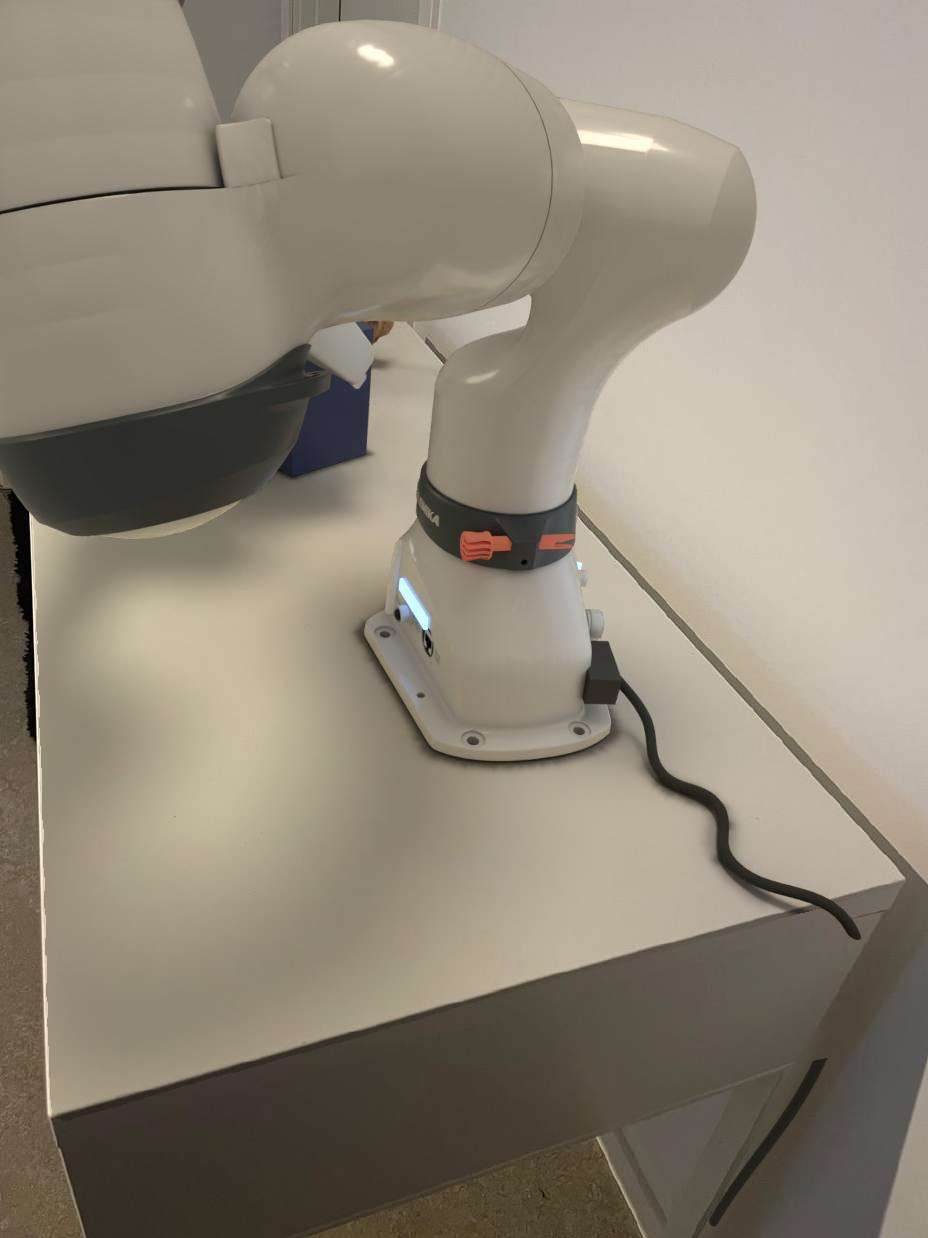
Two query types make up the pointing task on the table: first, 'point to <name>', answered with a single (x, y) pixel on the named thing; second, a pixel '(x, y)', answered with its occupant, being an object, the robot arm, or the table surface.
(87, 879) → the table surface
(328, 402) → the navy book
